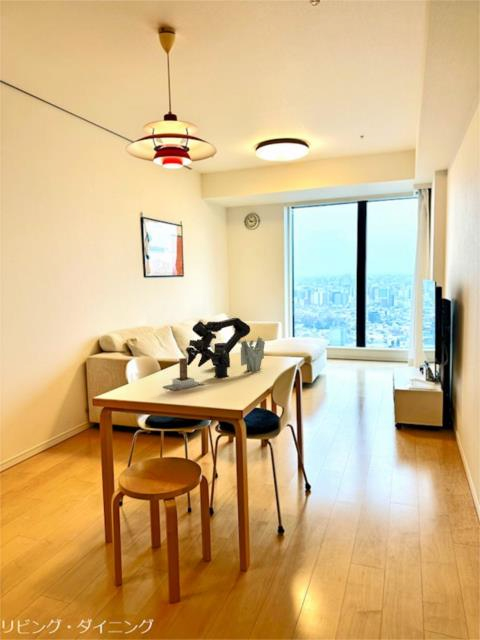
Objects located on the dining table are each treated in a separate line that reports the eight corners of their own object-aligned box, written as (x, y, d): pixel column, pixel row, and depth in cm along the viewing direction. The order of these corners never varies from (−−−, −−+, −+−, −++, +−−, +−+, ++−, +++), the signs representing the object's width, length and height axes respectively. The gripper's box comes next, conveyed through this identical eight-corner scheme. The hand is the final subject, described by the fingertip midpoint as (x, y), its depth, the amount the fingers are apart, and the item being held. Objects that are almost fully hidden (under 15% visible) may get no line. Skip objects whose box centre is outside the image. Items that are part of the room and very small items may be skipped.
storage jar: (212, 368, 282) (211, 344, 281) (217, 365, 292) (217, 342, 290) (227, 368, 280) (226, 345, 278) (232, 365, 289) (231, 342, 288)
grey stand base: (191, 381, 246) (190, 374, 246) (203, 384, 237) (203, 377, 236) (163, 387, 234) (162, 379, 234) (175, 391, 225) (174, 383, 225)
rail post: (184, 383, 238) (183, 357, 237) (189, 384, 236) (188, 358, 234) (178, 384, 235) (177, 358, 234) (183, 386, 233) (182, 359, 232)
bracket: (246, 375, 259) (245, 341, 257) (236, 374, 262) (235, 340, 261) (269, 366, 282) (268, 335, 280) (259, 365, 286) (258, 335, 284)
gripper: (185, 333, 248) (172, 357, 242) (207, 334, 234) (194, 359, 229) (198, 343, 254) (186, 367, 248) (220, 345, 241) (207, 370, 235)
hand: (193, 365), depth 240 cm, fingers open, 9 cm apart
